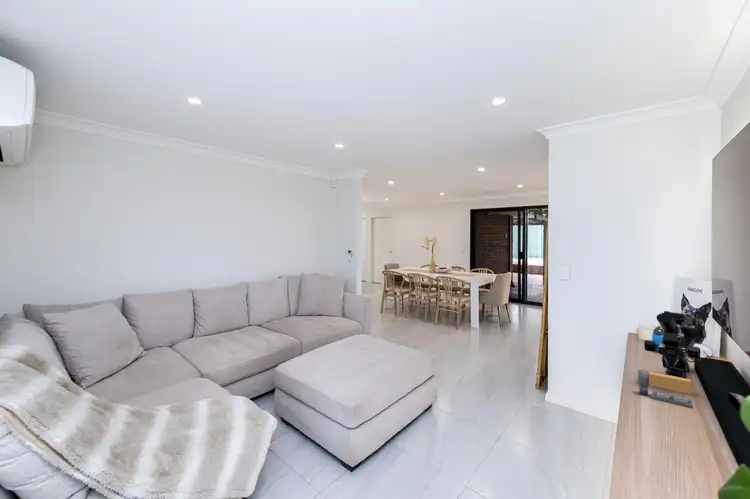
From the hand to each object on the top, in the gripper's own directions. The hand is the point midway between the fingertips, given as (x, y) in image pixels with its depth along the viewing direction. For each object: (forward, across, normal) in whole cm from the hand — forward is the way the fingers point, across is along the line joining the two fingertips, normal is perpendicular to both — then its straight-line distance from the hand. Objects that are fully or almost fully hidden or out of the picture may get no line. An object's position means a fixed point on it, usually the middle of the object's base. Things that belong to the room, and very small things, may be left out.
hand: (671, 365), depth 143 cm
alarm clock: (-41, -6, +59) cm, 73 cm away
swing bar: (+11, -2, 0) cm, 12 cm away
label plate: (+14, 0, +4) cm, 15 cm away
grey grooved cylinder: (+14, -9, +4) cm, 17 cm away
